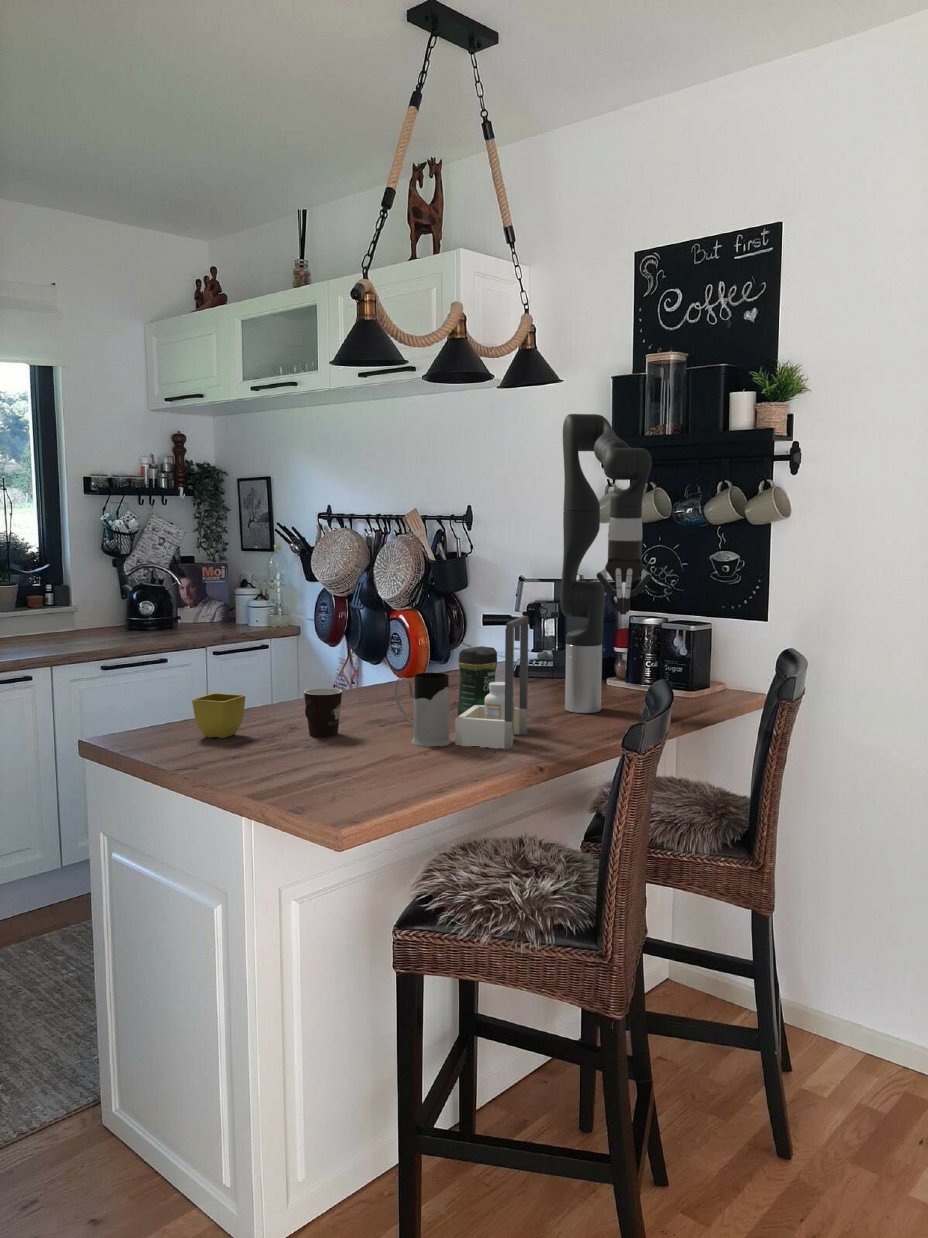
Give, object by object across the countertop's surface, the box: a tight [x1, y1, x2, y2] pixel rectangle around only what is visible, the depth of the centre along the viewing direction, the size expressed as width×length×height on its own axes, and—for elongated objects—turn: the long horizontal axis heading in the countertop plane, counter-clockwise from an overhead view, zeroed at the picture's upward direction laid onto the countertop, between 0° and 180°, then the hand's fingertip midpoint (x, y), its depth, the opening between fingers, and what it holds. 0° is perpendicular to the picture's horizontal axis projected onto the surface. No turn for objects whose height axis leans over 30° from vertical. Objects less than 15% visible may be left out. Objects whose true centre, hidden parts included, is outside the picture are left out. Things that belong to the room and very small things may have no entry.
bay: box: [454, 615, 529, 750], centre depth 216 cm, size 16×12×27 cm
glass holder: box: [393, 672, 452, 748], centre depth 215 cm, size 9×14×15 cm, turn 59°
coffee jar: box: [456, 646, 498, 718], centre depth 234 cm, size 10×8×19 cm
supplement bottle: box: [485, 681, 515, 740], centre depth 216 cm, size 7×7×13 cm
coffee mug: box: [303, 687, 343, 739], centre depth 220 cm, size 12×9×10 cm
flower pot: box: [191, 692, 246, 739], centre depth 219 cm, size 9×9×9 cm
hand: (622, 614), depth 221 cm, fingers closed
